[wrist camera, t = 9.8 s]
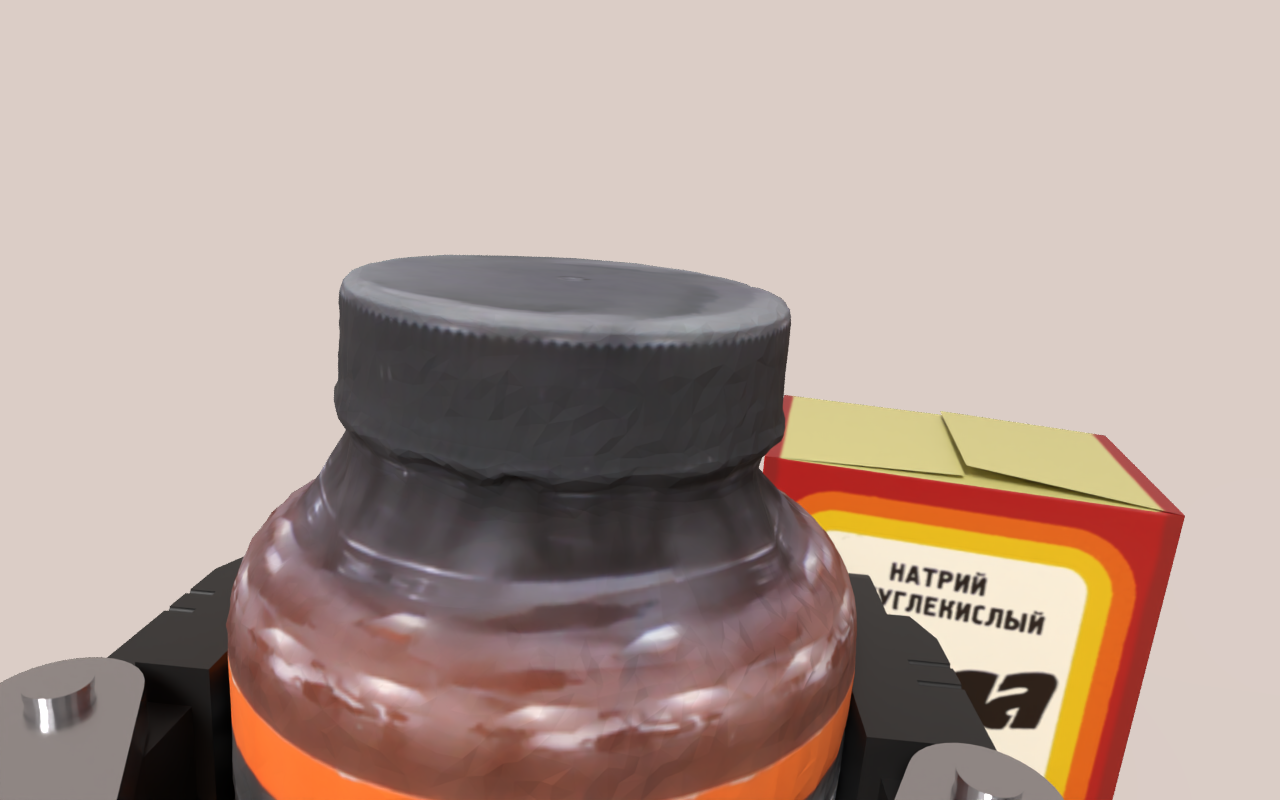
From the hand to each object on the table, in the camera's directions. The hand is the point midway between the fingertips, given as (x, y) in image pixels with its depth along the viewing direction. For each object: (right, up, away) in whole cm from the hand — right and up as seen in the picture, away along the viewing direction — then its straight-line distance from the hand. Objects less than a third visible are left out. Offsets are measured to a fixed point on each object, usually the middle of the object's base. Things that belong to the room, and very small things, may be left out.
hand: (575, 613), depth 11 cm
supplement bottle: (-1, -7, -1) cm, 7 cm away
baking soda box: (+8, -14, +16) cm, 23 cm away
